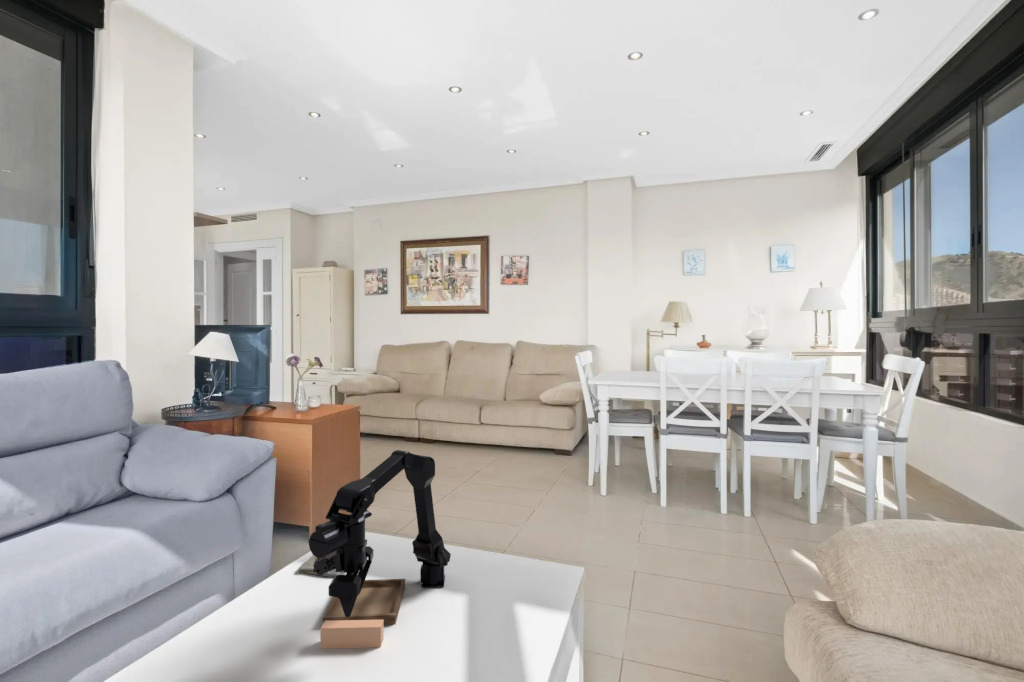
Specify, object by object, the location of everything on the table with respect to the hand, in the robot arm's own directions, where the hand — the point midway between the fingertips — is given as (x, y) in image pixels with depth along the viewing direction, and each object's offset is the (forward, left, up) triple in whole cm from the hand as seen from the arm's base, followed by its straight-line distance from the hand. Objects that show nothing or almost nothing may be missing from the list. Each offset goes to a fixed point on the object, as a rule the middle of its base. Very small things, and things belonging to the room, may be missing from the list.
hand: (352, 604), depth 116 cm
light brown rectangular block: (0, 0, -10) cm, 10 cm away
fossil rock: (+17, -41, -10) cm, 45 cm away
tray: (0, -16, -9) cm, 18 cm away
